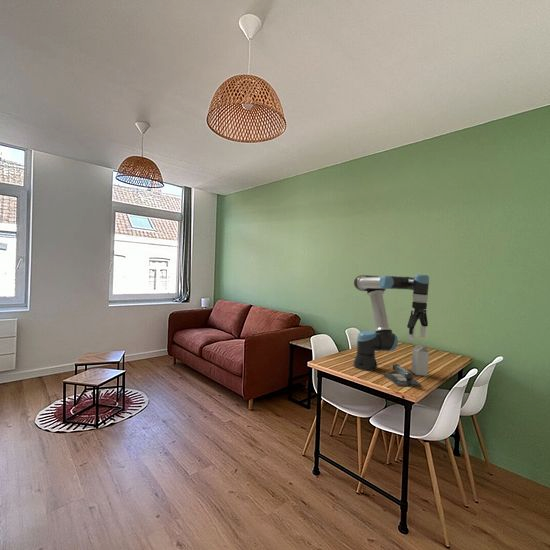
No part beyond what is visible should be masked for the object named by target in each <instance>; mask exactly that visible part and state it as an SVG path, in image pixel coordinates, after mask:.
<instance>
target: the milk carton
mask: <svg viewBox="0 0 550 550" xmlns="http://www.w3.org/2000/svg"><path fill="white" fill-rule="evenodd" d="M411 358H412V359H411V370H410V372H411V373H413V375H416V376H426V377H427V376H429V375H428V373H429V362H430V361H429V358H430V352H429V351H428V349H426V348H425V345H424V344H423V343H420V342H418V344H416V345H415V346H414V347H413V348H412V357H411Z"/></svg>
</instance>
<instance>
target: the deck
mask: <svg viewBox="0 0 550 550" xmlns="http://www.w3.org/2000/svg"><path fill="white" fill-rule="evenodd" d="M383 376H384V377H385V378H386V379H388V380H389V381H390V380H391V381H390V382H392V383H393V384H394V383H395V384H394V385H396V386H398V387H422V384H421V383H420V382H419V381H417V380H415V379H414V378H413V379H412V380H409V379H406V378H405V377H404V376H402V375H401V374H399V373H383Z"/></svg>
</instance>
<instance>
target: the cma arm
mask: <svg viewBox="0 0 550 550" xmlns="http://www.w3.org/2000/svg"><path fill="white" fill-rule="evenodd" d="M392 370H393V371H395V372H396V373H397V374H401V375H402V376H404V377H405V378H406V379H409V380H412V379H414V378H413V377H414V373H413V372H412V371H409V370H407V368H404V367H402V366H401V365H400V364H398V363H392Z"/></svg>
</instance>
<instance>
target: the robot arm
mask: <svg viewBox="0 0 550 550" xmlns="http://www.w3.org/2000/svg"><path fill="white" fill-rule="evenodd" d="M429 285H430V276H429V275H428V274H415V275H414V277H411V276H397V275H396V276H395V275H383V276H381V275H380V276H379V275H365V274H360V275H358V276H356V277H355V279H354V280H353V286H354V288H356V290H358V291H360V292H367V294H366V295H367V296H368V297H369V298H370V303H371V309H372V315H373V319H374V320H373V321H374V325H375V330H362V331H359V332H358V334H357V341H356V343H357V344H356V347H357V348H356V355H355V357H354V359H353V363H352V365H353V367H355V368H357V369H360V370H363V371H376V370H377V369H378V363H377V359H376V352H393V351H395V350H396V349H397V346H398V343H399V340H398V336H397V335H396V334H395V333H394V332H393V330H392V328H390V326H389V321H388V317H387V316H388V315H387V312H386V305H385V300H384V294H385V291H386V290H409V291H412V302H411V303H412V305H411V308H412V309H414V310H411V311H410V315H409V319H408V322H407V326H406V327H407V329H408V340H409V341H414V340H415V331H416V329H415V326H416V324H417V322H418V320H419V322H420V324H421V325H420V328H419V337H420V338H425V337H426V328H427V327H428V325H429V322H428V315H427V309H428V308H427V307H428V303H427V302H428V298H429V296H428V295H429Z"/></svg>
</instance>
